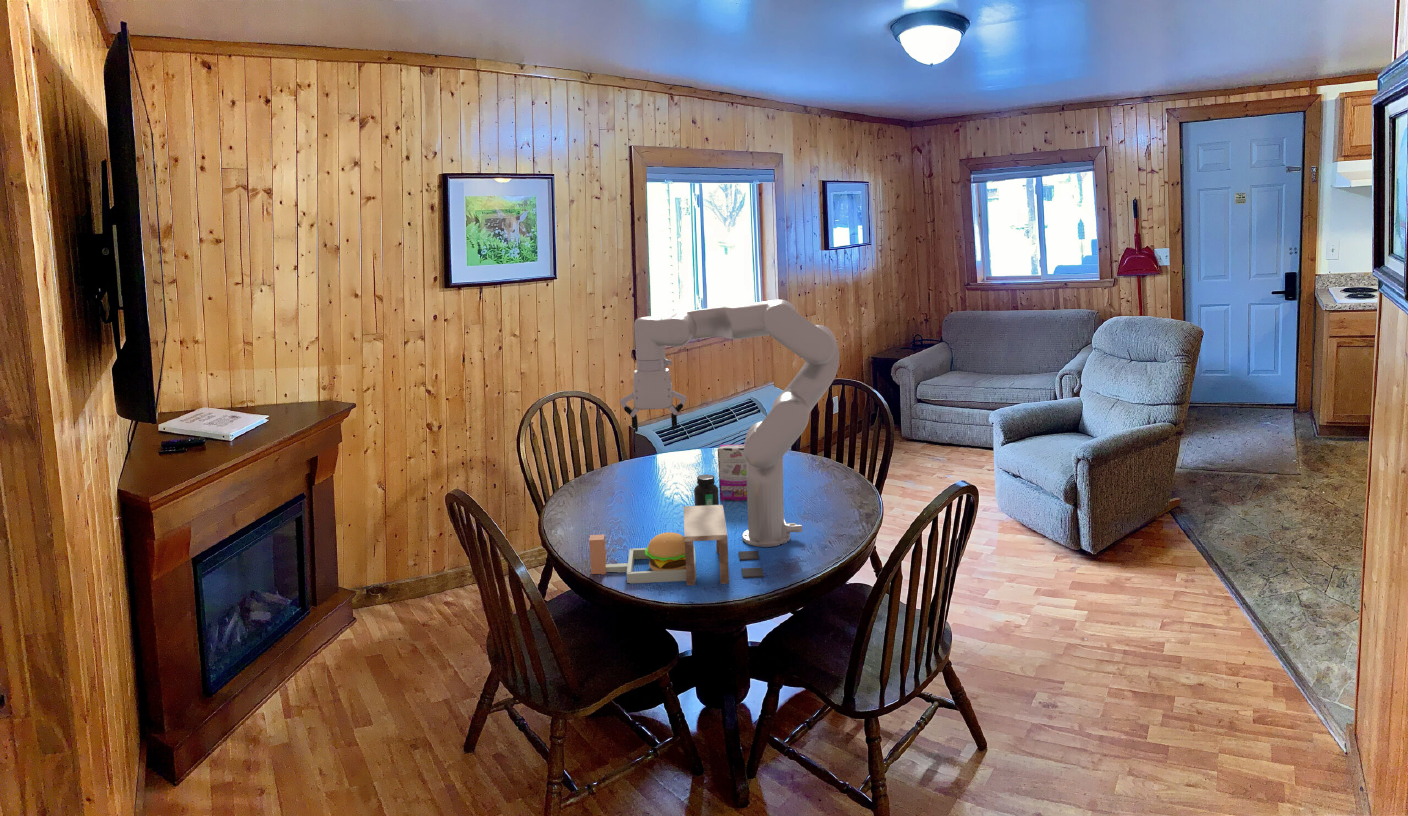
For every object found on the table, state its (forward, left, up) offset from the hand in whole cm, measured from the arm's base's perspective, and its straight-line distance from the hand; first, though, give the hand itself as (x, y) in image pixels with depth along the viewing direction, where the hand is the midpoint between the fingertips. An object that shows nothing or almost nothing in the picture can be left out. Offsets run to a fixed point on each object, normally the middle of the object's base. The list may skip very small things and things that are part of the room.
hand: (654, 429), depth 245 cm
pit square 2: (-23, +26, -30) cm, 46 cm away
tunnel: (-12, +21, -30) cm, 38 cm away
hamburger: (-3, +20, -30) cm, 36 cm away
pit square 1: (-23, +15, -30) cm, 41 cm away
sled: (+4, +21, -30) cm, 37 cm away
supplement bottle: (-13, -15, -30) cm, 36 cm away
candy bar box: (-23, -30, -30) cm, 49 cm away
